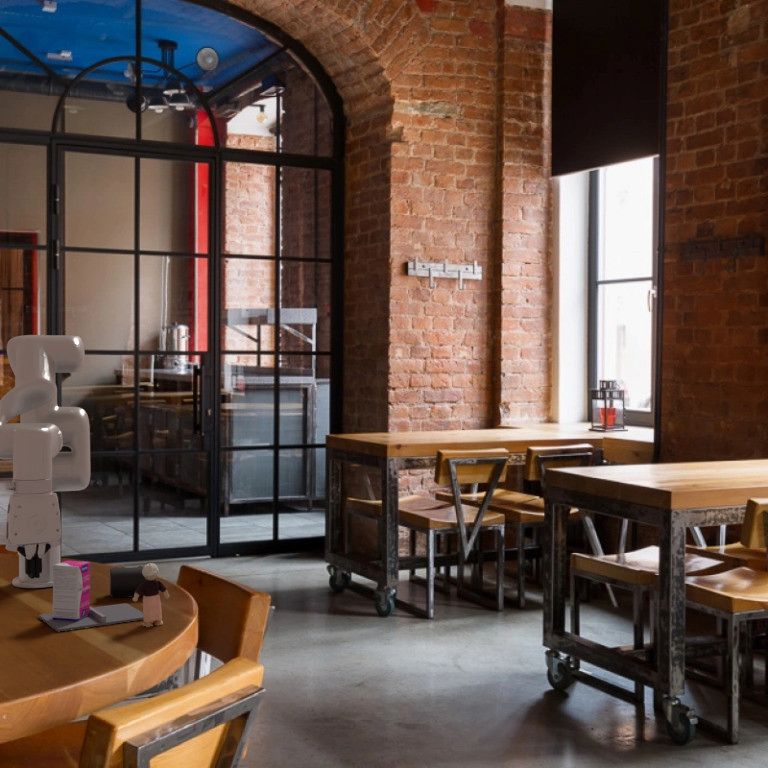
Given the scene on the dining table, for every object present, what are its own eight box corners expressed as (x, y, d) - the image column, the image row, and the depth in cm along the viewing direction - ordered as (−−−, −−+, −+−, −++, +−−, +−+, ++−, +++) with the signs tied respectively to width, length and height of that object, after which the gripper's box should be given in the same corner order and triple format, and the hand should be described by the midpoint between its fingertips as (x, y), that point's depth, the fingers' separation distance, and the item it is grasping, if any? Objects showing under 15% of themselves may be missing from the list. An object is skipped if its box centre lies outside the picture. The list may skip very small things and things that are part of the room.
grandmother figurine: (161, 620, 221) (161, 559, 221) (171, 623, 218) (171, 562, 218) (128, 626, 216) (128, 564, 215) (139, 630, 213) (138, 567, 212)
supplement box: (78, 622, 217) (77, 566, 216) (51, 620, 218) (51, 565, 218) (91, 615, 222) (91, 560, 222) (65, 613, 224) (65, 559, 223)
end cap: (110, 601, 238) (110, 571, 238) (109, 594, 245) (109, 565, 244) (156, 598, 241) (155, 568, 241) (153, 591, 248) (153, 562, 247)
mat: (38, 617, 223) (38, 609, 223) (126, 605, 233) (126, 597, 233) (58, 632, 211) (58, 623, 211) (149, 619, 221) (149, 610, 221)
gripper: (-1, 492, 208) (0, 585, 208) (75, 486, 216) (75, 576, 216) (-10, 487, 214) (-9, 578, 215) (64, 483, 222) (65, 570, 223)
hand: (33, 577), depth 216 cm, fingers closed
